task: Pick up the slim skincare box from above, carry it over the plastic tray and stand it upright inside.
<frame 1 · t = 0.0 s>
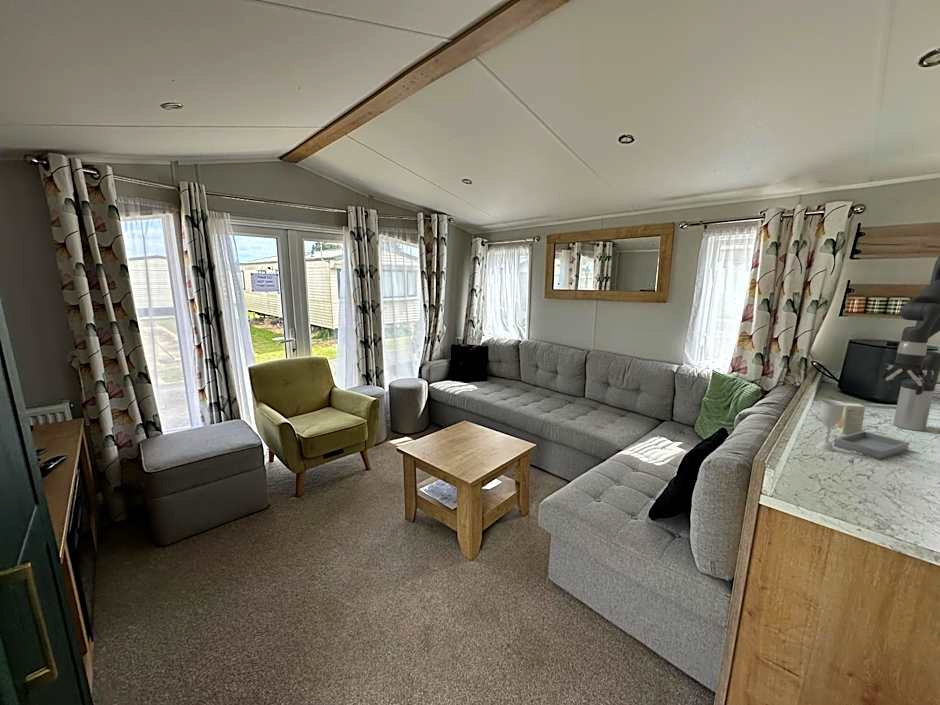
hand: (902, 392, 157), 17 cm above the worktop, tool pointing down, fingers open, 8 cm apart
tray: (870, 448, 144), on the worktop
chalice: (824, 448, 144), on the worktop
skincare box: (847, 433, 159), on the worktop
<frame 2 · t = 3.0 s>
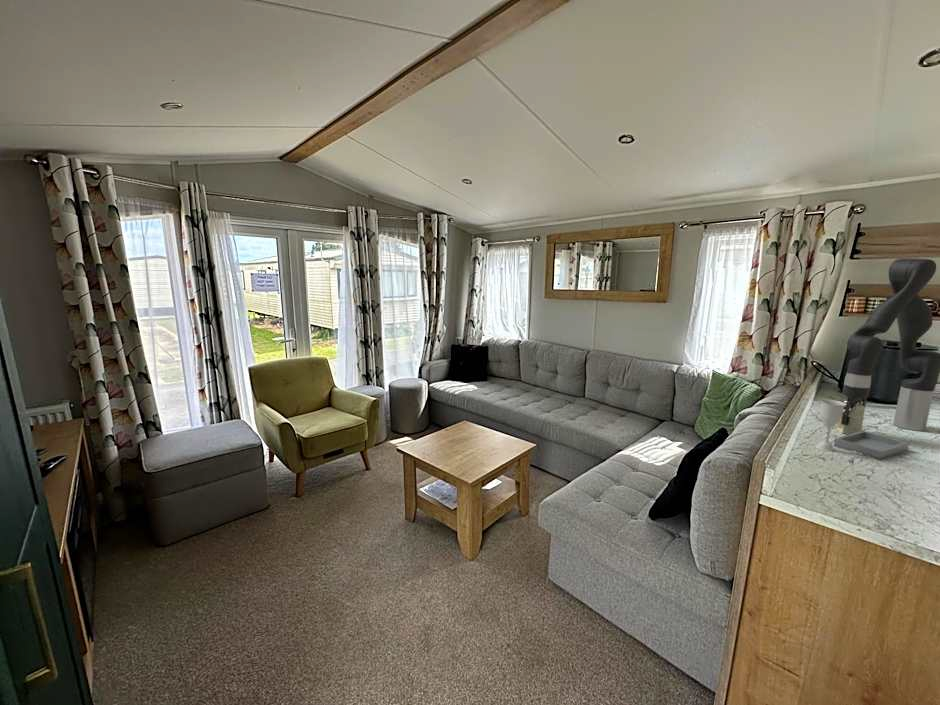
hand: (849, 423, 159), 4 cm above the worktop, tool pointing down, fingers closed on skincare box, 7 cm apart
skincare box: (847, 433, 159), on the worktop, touching gripper
everything else where it was.
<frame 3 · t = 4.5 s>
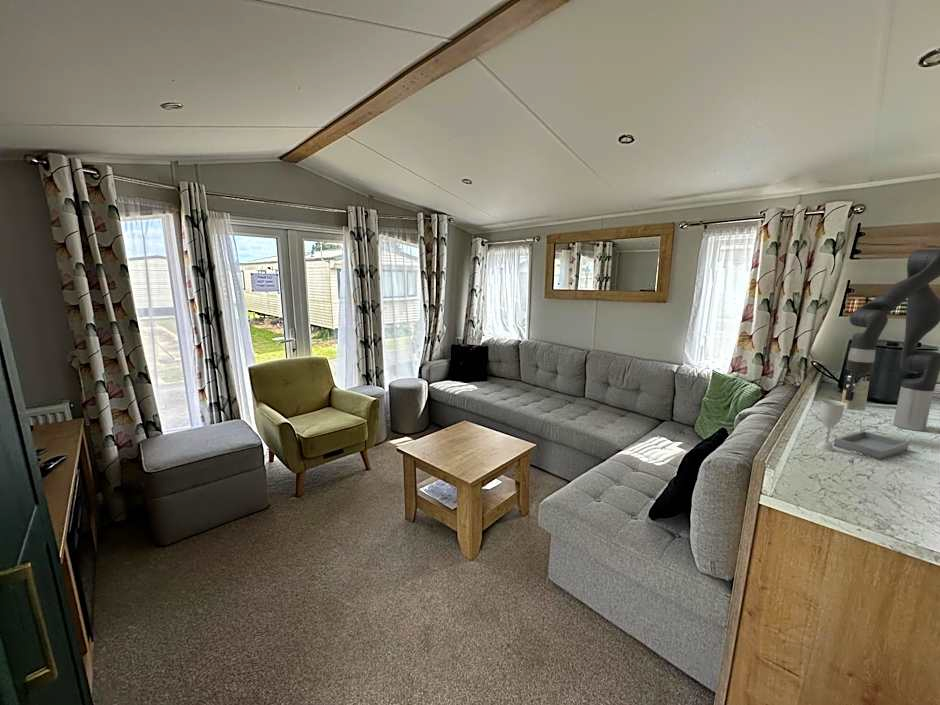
hand: (854, 398, 157), 14 cm above the worktop, tool pointing down, fingers closed on skincare box, 7 cm apart
skincare box: (852, 408, 158), point 10 cm above the worktop, touching gripper
everything else where it was.
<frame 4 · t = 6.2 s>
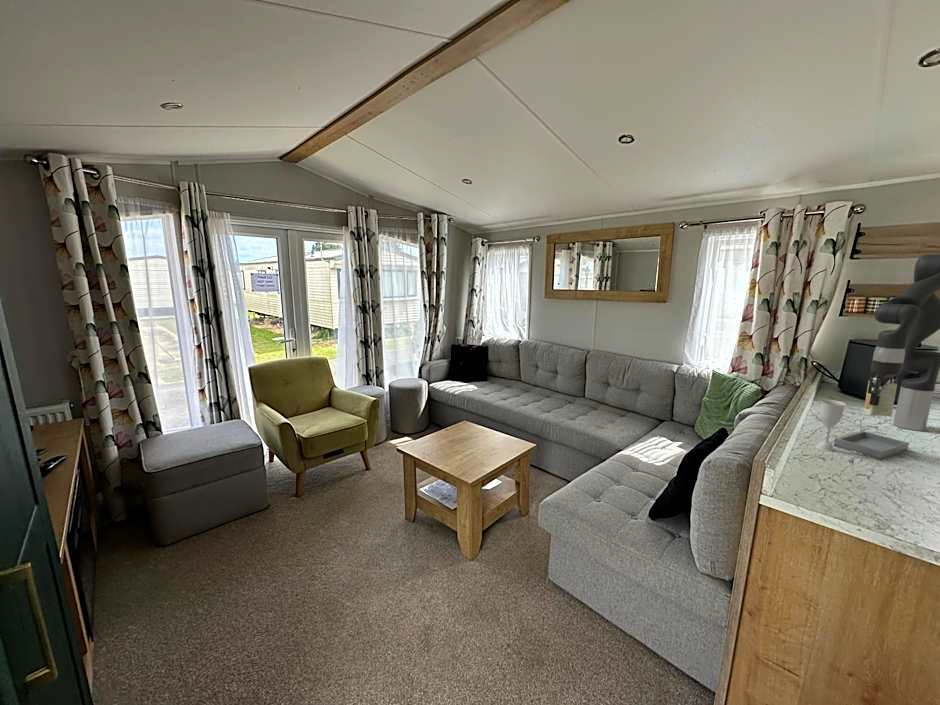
hand: (879, 403, 141), 17 cm above the worktop, tool pointing down, fingers closed on skincare box, 7 cm apart
skincare box: (876, 414, 142), point 13 cm above the worktop, touching gripper
everything else where it was.
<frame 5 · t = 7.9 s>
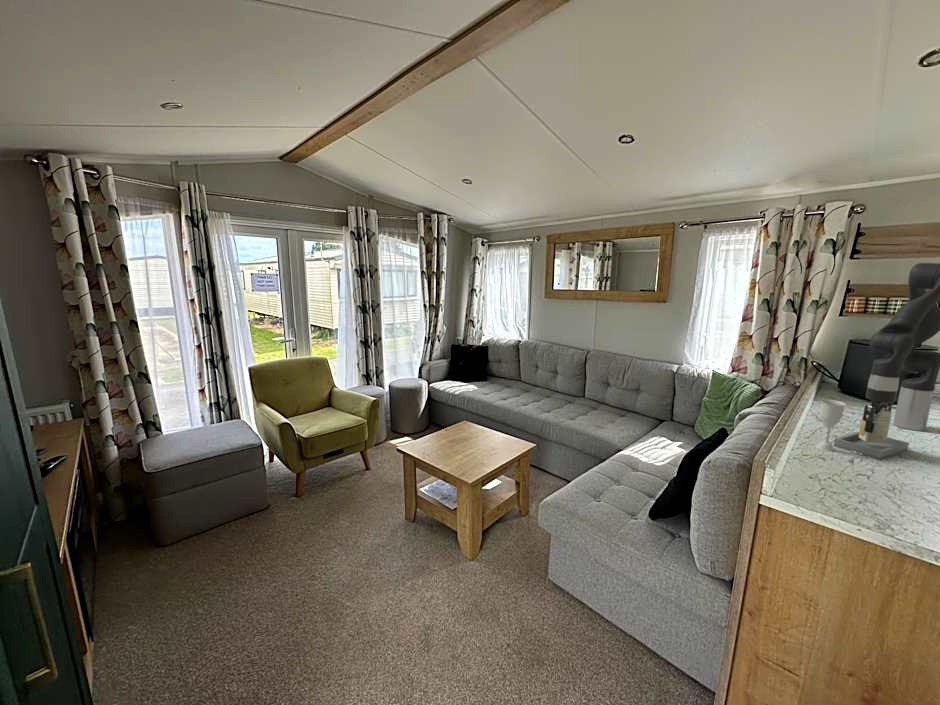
hand: (873, 430, 143), 7 cm above the worktop, tool pointing down, fingers closed on skincare box, 7 cm apart
skincare box: (871, 441, 144), point 3 cm above the worktop, touching gripper
everything else where it was.
when the fingers open (6 cm above the worktop, at t = 9.2 s): skincare box drops 1 cm, resting on tray.
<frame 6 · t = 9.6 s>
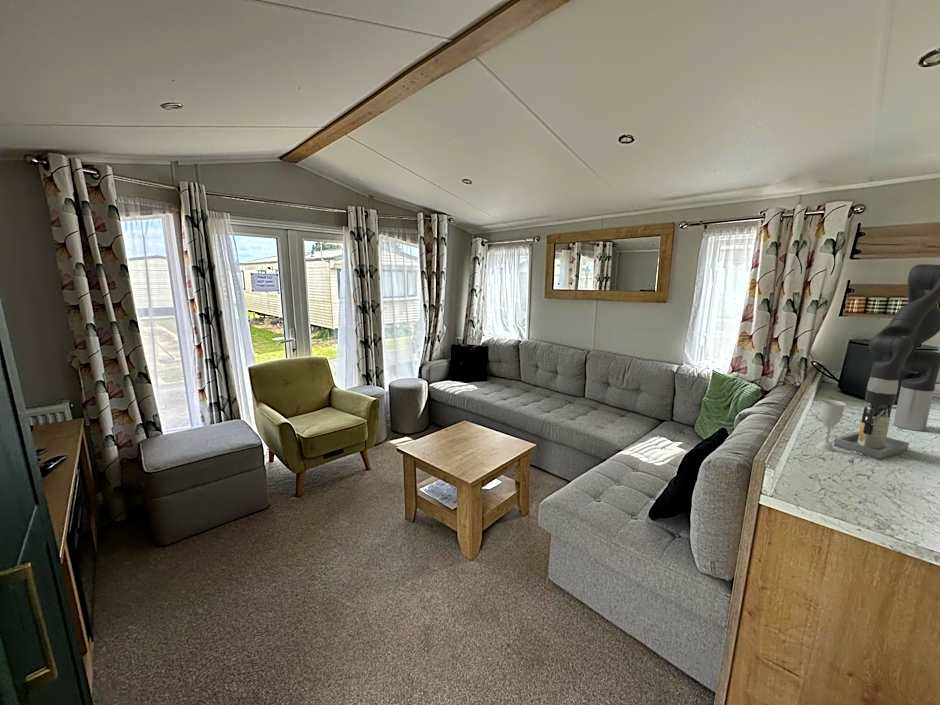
hand: (873, 432, 143), 6 cm above the worktop, tool pointing down, fingers open, 8 cm apart
skincare box: (870, 446, 144), point 1 cm above the worktop, touching tray
everything else where it was.
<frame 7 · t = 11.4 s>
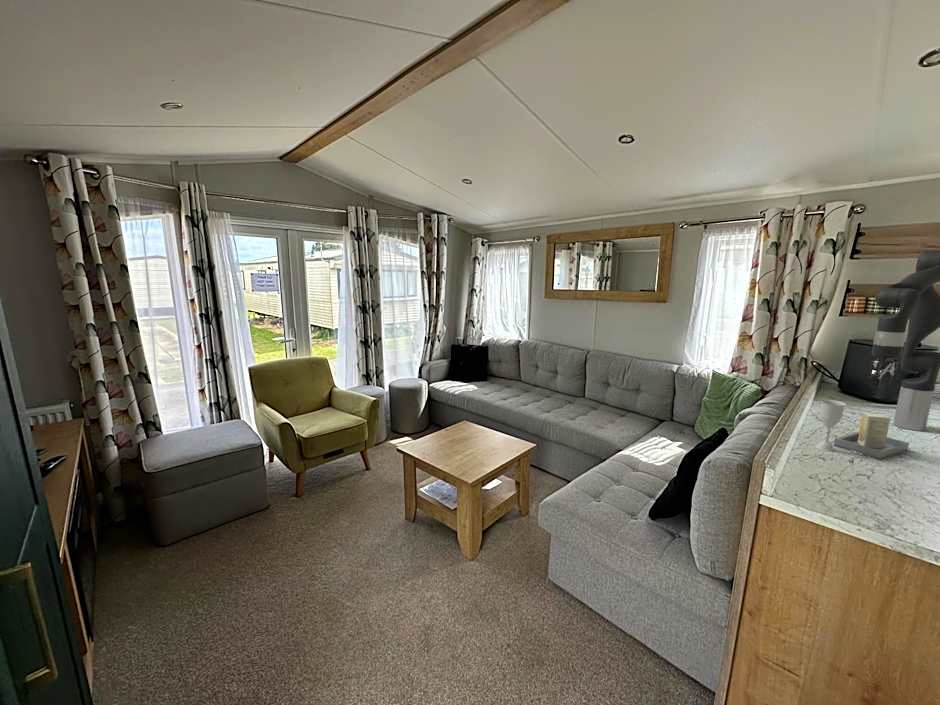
hand: (879, 386, 143), 23 cm above the worktop, tool pointing down, fingers open, 8 cm apart
nothing on the worktop moved.
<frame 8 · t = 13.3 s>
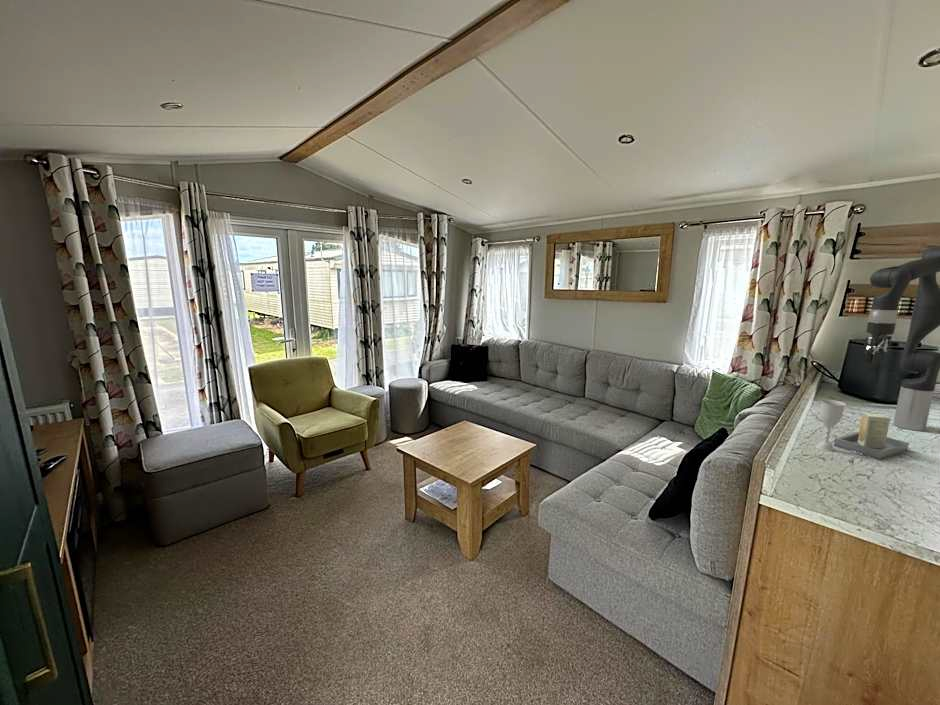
hand: (873, 362, 152), 30 cm above the worktop, tool pointing down, fingers open, 8 cm apart
nothing on the worktop moved.
at the end: skincare box inside the target area on the tray (0.1 cm from its centre), point 0.6 cm above the tray's base; skincare box tilted 0°; the gripper is holding nothing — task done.
